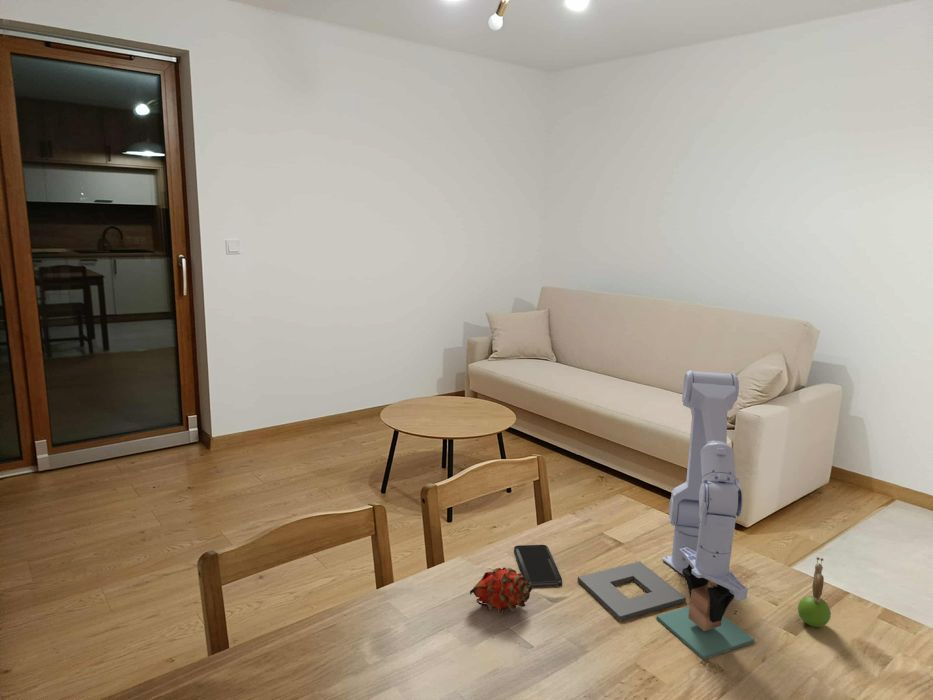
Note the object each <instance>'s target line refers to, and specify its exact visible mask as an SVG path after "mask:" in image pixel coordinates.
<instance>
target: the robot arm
mask: <svg viewBox="0 0 933 700" xmlns="http://www.w3.org/2000/svg"><path fill="white" fill-rule="evenodd" d="M682 385H683V387H682V398H681V399H682V400H681V401H682V405H683V407H686V408H688V409H690V413H691V424H690V436H689V446H688V459H687V469H686V470H687V471H686V481H685V482H684V483H681V484H679V485H678V486H675V487H674V488H673V489H672V491H671V494H670V495H671V496H670V500H669V505H668V506H669V507H668V521H669V523H670V524H671V526H672V527H674V532H673V539H672V540H673V541H672V547H671V548H672V550H671V555H668V556H663V557H662V559H661V560H662V561H664V562H665V563H666V564H667V565H668V566H670V567H671V568H673V569H674V570H676V571H677V572H678V573H680V574H681V575H682V576H683V577H684V579H685V582H686V585H687V587H688V592H689V597H690V599H691V591H692V589H694V588H698V587H701V586H705V585H708V583H709V582H712V583H714V584H715V585H714V586H711V587H710V588H708V593H709V597H710V621H711V622H713V623H714V622H717V621H721V619H722V617H723V616H724V614H725V612H726V610H727V608H728V607H729V605H730V603H731V602H732V601H733V600H734V599H735V600H736V601H743V600H746V599H747V597H748V590H749V588H748V587H746V585H744V584H743V583H742V581H740V580H739V579H738V578H737V577H736V575H735V574H734V573H733V571H731V569H730V565H731V557H732V551H733V544H734V543H733V541H734V533H735V527H736V519H737V518H739V517H740V516H741V514H742V511H743V510H742V509H743V502H744V501H743V500H744V499H743V498H744V497H743V488H742V486H741V483H740V479H739V478H740V477H737V473H736V462H735V461H736V460H735V451H734V449H733V448H732V446H730V445H729V444H727V441H728V435H727V433H728V411H730V410H731V411H732V410H733V408H734V406H735V403H737V400H738V397H739V392H740V382H739V377H738V376H737V374H735V373H721V372H709V371H707V372H706V371H695V370H690V369H689V370H688V371H686V372H685V374H684V378H683V384H682Z"/></svg>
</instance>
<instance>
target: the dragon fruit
mask: <svg viewBox="0 0 933 700" xmlns="http://www.w3.org/2000/svg"><path fill="white" fill-rule="evenodd" d="M532 590H533V587H531V586H530V583H529V582H528V581H526V579H525V577H524V576H523V575H522V574H521V572H520V573H517V570H515V569H513V568H511V567H508V568H507V567H503V568H501V567H497V568H494V569H493V570H492V571H486V572H485V573H484V574H483V576H482V578H480V580H479V581H478V582H477V583H476V584H475V586H473V588H471V590H470V591H469V594H470V595H471V596H472V593H473V595H474V596H475V597H476V598H477V599H476V600H475V602H476V603H477V604H478V605H480V606H481V607H484V608H487V611H491V610H493V609H494V608H496V609H497V613H498V614H499V615H503V614H504V613H507V612H508V610H509V611H516V610H517V606H518V607H521V608H525V607H526V605H527V604H525V602H527V601H528V600H530V596H531V592H532ZM470 595H469V596H470Z"/></svg>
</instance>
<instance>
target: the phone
mask: <svg viewBox="0 0 933 700" xmlns="http://www.w3.org/2000/svg"><path fill="white" fill-rule="evenodd" d="M513 552H514V555H515V558H516V561H517V565H518V568H519V570H520V574H521V575H523V576H524V577H525V579H526V581H528V582H529V583H530V586H531V587H532V588H539V587H540V588H541V587H542V588H545V587H560V586H562V585H563V578H562V576H561V574H560V571H559V569H558V566H557V564H556V562H555V560H554V558H553V555H552V552H551V550H550V548H549V546H547V545H546V544H524V545H523V544H521V545H515V546H514V547H513Z"/></svg>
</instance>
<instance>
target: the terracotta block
mask: <svg viewBox="0 0 933 700" xmlns="http://www.w3.org/2000/svg"><path fill="white" fill-rule="evenodd" d="M710 587H712V586H711V585H709V584H707V585H705V586H701V587H698V588H694V589H692V591H691V598H690V600H689V606H690V608H689V616H688V618H689V619H690V620H691V621H693V622H694V623H695V624H696V625H697V626H699V627H700V628H701V629H702V630H703V631H706V630H709V629H713V628H716V627H719V626H721V622H722V619H721V621H717V622H714V623H713V622H711V621H710V597H709V593H708V588H710Z"/></svg>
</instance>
